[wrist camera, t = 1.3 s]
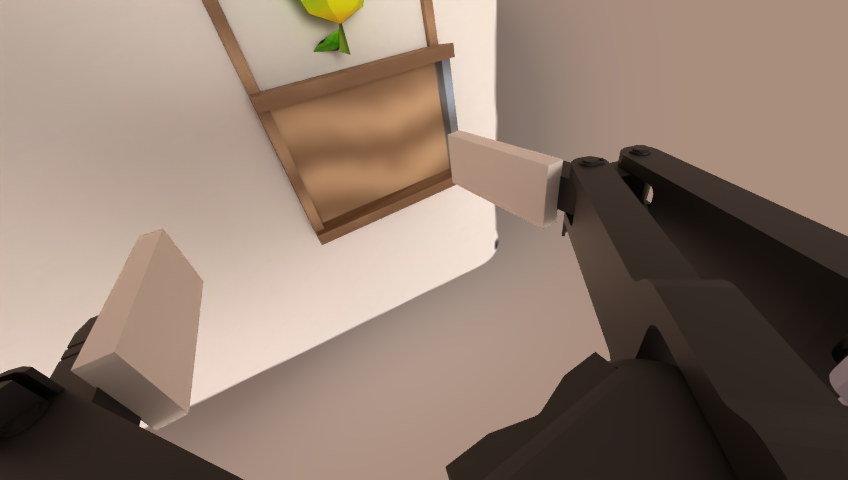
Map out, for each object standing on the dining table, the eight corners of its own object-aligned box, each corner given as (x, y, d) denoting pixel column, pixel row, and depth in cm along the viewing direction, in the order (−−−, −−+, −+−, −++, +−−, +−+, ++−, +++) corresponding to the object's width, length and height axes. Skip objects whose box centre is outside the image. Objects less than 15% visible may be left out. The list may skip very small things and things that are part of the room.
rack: (132, -144, 19) (117, -177, 16) (407, -152, 25) (428, -177, 23) (315, 231, 36) (322, 245, 33) (453, 172, 42) (468, 179, 40)
